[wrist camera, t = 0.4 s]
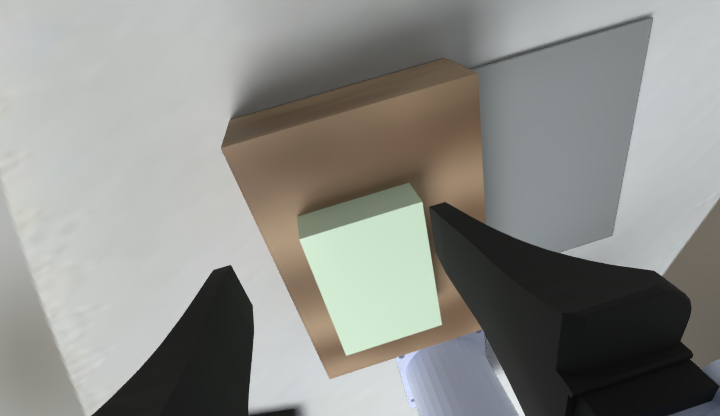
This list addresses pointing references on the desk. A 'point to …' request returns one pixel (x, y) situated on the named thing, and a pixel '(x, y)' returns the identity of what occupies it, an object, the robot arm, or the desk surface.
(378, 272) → the pale green block
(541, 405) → the robot arm
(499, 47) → the desk surface
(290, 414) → the disk drive
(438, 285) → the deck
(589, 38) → the mat
